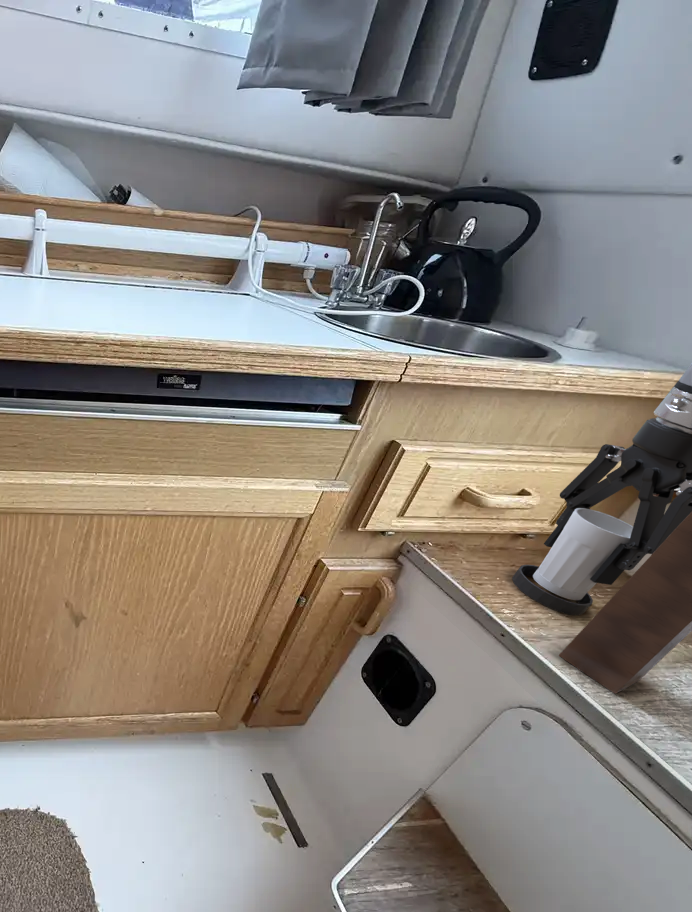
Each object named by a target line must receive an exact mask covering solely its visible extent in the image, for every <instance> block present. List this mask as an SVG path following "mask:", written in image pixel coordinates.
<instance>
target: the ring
mask: <svg viewBox="0 0 692 912" xmlns="http://www.w3.org/2000/svg"><path fill="white" fill-rule="evenodd" d="M539 567H540V565H539V566H538V565H534V564H522V565H520V566H519V567H518V569H517V570H516V571H515V573H514V574H513V575H512V577H511V579H512V582H513V584H514V585H515V586H516V588H517V589H518V590H520V591H521V592H522V593H523V594H524V595H525V596H528V597H529V598H530V599H532V600H533V601H535V602H537V603H538V604H541V605H543V606H544V607H546V608H548V609H551V610H554V611H556V612H559V613H562V614H565V615H569V616H581V615H583V614H585V613H586V612H587V610H588V609H589V608H590V607H591V606H592V605H593V603H594V599H593V597H592V595H591V594H590V593H589V592H587V593H586V594H585V596H584V597H583V598H582V599H581V600H575V601H576V602H577V603H576V602H574V601H573V602H572V601H568V600H566V599H563V598H562V597H561V598H560V597H559V596H556V595H554V594H552V593H551V592H548V591H546V590H544V589H542V588H541V587H539V586H537V585H536V584H535V583H533V582H532V581H531V580H530V579H529V578H527V577H531V578H533V574H534V573H535V572H536V570H537V569H538V568H539Z"/></svg>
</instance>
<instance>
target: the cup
mask: <svg viewBox="0 0 692 912" xmlns="http://www.w3.org/2000/svg"><path fill="white" fill-rule="evenodd" d="M633 526H634V525H631V524H630V523H628V522H625V521H624V520H622V519H619V518H618V517H616V516H613V515H610V514H608V513H605V512H601V511H598V510H594V509H592V508H590V509H586V508H577V509H575V510H574V512H573V514H572V515H571V517H570V518H569V520H568V522H567V523H566V525H565V527H564V529H563V530H562V532H561V534H560V535H559V537H558V538H557V540H556V541H555V543H554V545H553V546H552V547H550V549H549V551H548V552H547V554H546V556H545V557H544V559H543V560H542V562H541V564H540V565H539V568H538V569H537V570H536V572H535V573H534V574H533V577H532V578H533V580H534V581H535V582H536V583H537V584H538V585H539V586H541V587H542V588H543V589H545V590H547V591H549V593H551V594H552V593H553V595H554V594H555V596H556V595H557V596H558V597H561V598H564V599H568V600H571V601H576V600H581V599H582V598H583V597H584V596H585V594H586V593H589V592H590V591H591V590H592V589H593V588H594V587H595V586H596V585H597V584H598V583H594V582H593V581H591V580H590V578H591V577H592V576H593V575H594V574H595V572H596V571H597V570H598V569H599V568H600V567H601V565H602V564H603V563H604V562H605V561H606V560H607V558H608V557H609V556H610V555H611V554H612V552H613V551H614V550H615V549H616V548H617V547H618V545H619V544H620V543H621V544H629V540H630V536H631V533H632V529H633Z"/></svg>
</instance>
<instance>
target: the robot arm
mask: <svg viewBox="0 0 692 912" xmlns="http://www.w3.org/2000/svg"><path fill="white" fill-rule="evenodd" d="M653 414H654V415H653V416H655V417H652V418H649V419H647V420H646V421H645V422H644V423H643V425H642V426H641V427H640V428H639V430H638V431H637V432H636V434H635V435H634V436H633V438H632V440H631V442H632V445H630V446H629V447H627V448H626V447H624V446H621V445H614V444H608V443H605V444H602V446H601V447H600V449H599V451H598V453H597V455H596V456H595V457H594V459H593V460H591V462H590V463H589V464H588V465H587V466H586V467H584V469H583V470H582V471H581V472H580V473H579V474H578V475H577V476H576V477H574V479H573V480H572V481H570V483H569V484H567V485H566V487H565V488H563V490H562V491H560V493H559V498H560V499H563V500H564V501H565V503H566V505H565V506H566V507H565V509H564V510H563V511H562V512H561V514H560V515H559V517H558V518H557V519H556V521H555V524H556V527H555V528H554V530H552V532H551V533H550V535H549V536H548V537H547V539H546V540H545V541H544V543H543V545H544V546H546V547H547V548H552V546H553V545H554V543H555V541H556V540H557V538H558V537H559V535H560V534H561V532H562V530H563V529H564V527H565V525H566V523H567V522H568V520H569V518H570V517H571V515H572V514H573V512H574V510H575V509H577V508H586V509H592V507H594V506H596V505H598V504H599V503H601V502H603V501H605V500H606V499H608V498H610V497H611V496H613V495H615V494H616V493H618V492H620V491H621V490H623V489H625V488H627V487H631V486H632V487H633V488H634V489H635V490H636V491H638V495H637V497H638V500H639V505H638V508H637V512H636V514H635V518H634V523H633V525H632V526H633V529H632V533H631V536H630V540H629V544H621V543H620V544H619V545H618V547H617V548H616V549H615V550H614V551H613V552H612V554H611V555H610V556H609V557H608V558H607V560H606V561H605V562H604V563H603V564H602V565H601V567H600V568H599V569H598V570H597V571H596V572H595V574H594V575H593V576H592V577H591V578H590V580H591V581H593V582H594V583H597V584H601V585H609V586H612V585H613V584H614V583H615V582H616V580H617V579H618V578H619V577H620V576H621V575H622V574H623V573H624V571H632V570H634V569H635V567H637V565H638V564H639V563H640V562H641V561H642V559H643V558H644V557H645V556H647V555H652V554H653V553H654V552H655V551H656V550H657V548H658V547H659V546H660V545H661V544H662V543H663V542H664V541H665V540H666V539H667V538H668V537H669V535H670V534H671V533H672V532H673V531H674V530H675V529H676V528H677V527H678V526H679V525H680V524H681V523H682V521H683V520H684V519H685V518H686V517H687V516H688V515H689V514H690V513H691V512H692V362H691V363H690V365H689V366H688V367H687V368H686V370H685V371H684V372H683V374H682V375H681V376H680V378H679V379H678V380H677V382H676V383H675V384H674V386H672V388H671V389H670V390H669V392H668V393H667V394H666V396H665V397H664V398H663V399H662V401H661V402H660V403H659V405H658V406H657V407H656V408H655V409H654V411H653ZM619 463H620V466H619V467H617V468H615V467H616V466H617V465H618V464H619ZM614 468H615V469H614ZM677 489H679V490H677ZM675 490H677V491H675ZM674 493H675V497H674ZM673 497H674V499H673ZM668 505H669V506H668ZM667 506H668V507H667ZM666 508H667V509H666Z"/></svg>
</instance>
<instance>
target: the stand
mask: <svg viewBox="0 0 692 912" xmlns="http://www.w3.org/2000/svg"><path fill="white" fill-rule="evenodd" d="M691 632H692V512H691V513H690V514H689V515H688V516H687V517H686V518H685V519H684V520H683V521H682V523H681V524H680V525H679V526H678V527H677V528H676V529H675V530H674V531H673V532H672V533H671V534H670V535H669V537H668V538H667V539H666V540H665V541H664V542H663V543H662V544H661V545H660V546H659V547H658V548H657V550H656V551H655V552H654V553H653V554H650V556H649V557H648V558H647V559H646V560H645V561H644V562H643V563H642V565H641V566H640V567H639V568H638V569H637V570H636V571H635V572H634V574H632V575H631V576H630V577H629V579H628V580H627V581H626V582H625V583H624V584H623V585H622V586H621V587H620V588H619V589H618V591H616V593H614V595H612V597H611V598H610V599H609V600H608V601H607V602H606V603H605V604H604V606H603V607H602V608H601V609H600V610H599V611H598V612H597V613H596V614H595V615H594V616H593V617H592V618H591V619H590V620H589V621H588V622H587V624H586V625H585V626H584V627H583V628H582V629H581V631H580V632H579V633H578V634H577V635H575V637H574V638H572V640H571V641H570V642H569V643H568V644H567V646H566V647H565V648H564V649H563V650H562V651H561V652H560V653H559V654H558V656H559V657H560V658H561V659H563V660H564V661H566V662H567V663H569V664H570V665H571V666H574V667H575V668H576V669H578V670H579V671H580V672H582V673H584V674H585V675H587V677H589V678H591V679H592V680H594V681H595V682H597V683H598V684H600V685H601V686H603V688H606V689H607V690H609V691H610V692H612V693H613V694H615V695H616V694H618V693H619V692H621V691H623V690H626V689H627V688H628V687H631V686H632V685H634V684H637V683H638V682H639V681H640V680H641V679H642V678H643V677H644V676H646V675H647V673H648V672H650V670H652V669H653V668H654V667H655V666H656V665H657V664H659V662H660V661H661V660H662V659H663V658H665V657H666V656H667V655H668V654H669V653H670V652H671V651H672V650H673V649H674V648H676V646H677V645H679V644H680V643H681V642H682V640H684V639H685V638H686V637H687V636H688V635H689V634H690V633H691Z"/></svg>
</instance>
